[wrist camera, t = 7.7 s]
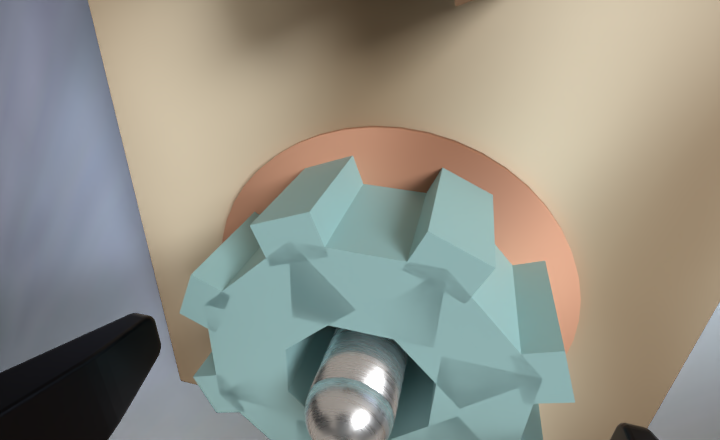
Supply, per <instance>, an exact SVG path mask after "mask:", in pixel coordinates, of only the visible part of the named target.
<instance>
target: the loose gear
mask: <svg viewBox="0 0 720 440" xmlns="http://www.w3.org/2000/svg"><path fill="white" fill-rule="evenodd" d="M180 314H182V315H184V316H185V317H187V318H189V319H191V320H193V321H195V322H196V323H198V324H200V325H202V326H204V327H206V328H208V331H209V336H210V342H211V348H212V352H211V353H210V355H209V356H208V357H207V359H206V360H205V361H204V363H203V364H202V365H201V367H200V368H199V369H198V371H197V372H196V373H195V375H194V376H193V378H194V379H195V381H196V382H197V384H198V385H199V387H200V389H201V390H202V392H203V393H204V395H205V396H206V398H207V399H208V401H209V402H210V404H211V405H212V407H213V408H214V410H215V411H216V413H228V412H240V413H241V414H242V415H243V416H244V417H245V418H246V419H248V420H249V421H250V422H251V423H252V424H253V425H254V426H255V427H257V428H258V429H259V430H260V431H261V432H262V433H263V434H264V435H266V436H267V437H268V438H269V439H270V440H312V439H311V437H310V435H309V432H308V430H307V427H306V421H305V403H306V399H307V396H308V392H309V390H310V388H311V385H312V383H313V381H314V378H315V376H316V374H317V372H318V369H319V367H320V365H321V362H322V360H323V358H324V355H325V353H326V351H327V348H328V346H329V344H330V341H331V339H332V337H333V334H334V332H335V330H336V327H338V328H343V329H347V330H352V331H357V332H361V333H366V334H371V335H375V336H380V337H385V338H389V339H394V340H395V341H396V342H397V343H398V344H399V345H400V346H401V348H402V349H403V350H404V351H405V352H406V353H407V354H408V359H407V364H406V368H405V373H404V378H403V383H402V388H401V393H400V398H399V402H398V407H397V412H396V417H395V422H394V426H393V429H392V432H391V435H390V436H389V438H388V440H543V434H542V427H541V419H540V411H539V404H542V403H575V399H574V394H573V389H572V384H571V379H570V374H569V369H568V364H567V359H566V354H565V349H564V344H563V340H562V335H561V331H560V326H559V322H558V317H557V312H556V308H555V303H554V299H553V294H552V290H551V285H550V280H549V276H548V271H547V267H546V262H545V261H539V262H532V263H525V264H518V265H512V264H511V263H510V262H509V261H508V259H507V258H506V257H505V256H504V255H503V253H502V252H501V251H500V250H499V248H498V247H497V246H496V245H495V236H494V211H493V195H492V194H490V193H488V192H487V191H485V190H483V189H481V188H479V187H477V186H476V185H474V184H472V183H470V182H468V181H466V180H465V179H463V178H461V177H459V176H457V175H455V174H454V173H452V172H450V171H448V170H446V169H445V168H443V167H442V169H441V171H440V172H439V174H438V175H437V177H436V179H435V180H434V182H433V183H432V185H431V186H430V188H429V190H428V191H427V193H423V192H416V191H409V190H402V189H395V188H388V187H382V186H375V185H368V184H363V182H362V179H361V176H360V174H359V171H358V168H357V165H356V163H355V160H354V157H353V156H349V157H345V158H342V159H338V160H334V161H330V162H327V163H323V164H319V165H315V166H312V167H308V168H305V169H304V170H303V171H302V172H301V173H300V174H299V175H298V176H297V177H296V178H295V179H294V180H293V181H292V182H291V183H290V184H289V185H288V186H287V187H286V188H285V189H284V190H283V192H282V193H281V194H280V195H279V196H278V197H277V198H276V199H275V200H274V201H273V202H272V203H271V204H270V205H269V206H268V207H267V208H266V209H265V210H264V211H263V212H262V213H261V214H260V215H259V214H257V213H256V212H254V213H253V214H252V215H251V216H250V217H249V218H248V219H247V220H246V221H245V222H244V223H243V224H242V225H241V226H240V227H239V228H238V229H237V230H236V231H235V232H234V233H233V234H232V235H231V236H230V237H229V238H228V239H227V240H225V241H224V242H223V243H222V244H221V245H220V246H219V247H218V248H217V249H216V250H215V251H214V252H213V253H212V254H211V255H210V256H209V257H208V258H207V259H206V260H205V261H204V262H203V263H202V264H201V265H200V266H199V267H198V268H197V269H196V270H195V271H194V272H193V273H192V274H191V276H190V280H189V283H188V286H187V290H186V293H185V296H184V299H183V303H182V306H181V309H180Z"/></svg>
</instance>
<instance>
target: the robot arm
mask: <svg viewBox="0 0 720 440" xmlns="http://www.w3.org/2000/svg"><path fill="white" fill-rule="evenodd" d="M160 349H161V342H160V339H159V335H158V331H157V327H156V323H155V320H154V319H153V318H152V317H151V316H148V315H144V314H139V313H132V314H129V315H127V316H125V317H122V318H120V319H118V320H116V321H114V322H111V323H109V324H107V325H105V326H103V327H100V328H98V329H96V330H94V331H92V332H89V333H87V334H85V335H83V336H81V337H78V338H76V339H74V340H72V341H70V342H67V343H65V344H63V345H61V346H58V347H56V348H54V349H52V350H50V351H47V352H45V353H43V354H41V355H39V356H36V357H34V358H32V359H30V360H28V361H25V362H23V363H21V364H19V365H17V366H14V367H12V368H10V369H8V370H5V371H3V372H1V373H0V440H108V439H109V437H110V436H111V434H112V433H113V431H114V430H115V428H116V427H117V426H118V424H119V423H120V421H121V419H122V418H123V416H124V414H125V413H126V411H127V409H128V408H129V406H130V404H131V403H132V401H133V399H134V397H135V396H136V394H137V392H138V390H139V389H140V387H141V385H142V384H143V382H144V380H145V378H146V377H147V375H148V373H149V371H150V370H151V368H152V366H153V364H154V363H155V361H156V359H157V358H158V356H159V353H160ZM610 440H658V439H657V437H656V436H655V435H654V434H653V433H652V432H651V431H650V430H649V429H647V428H645V427H642V426H637V425H633V424H629V423H620V424H618V426H617V427H616V429H615V431H614V433H613V435H612V436H611V438H610Z"/></svg>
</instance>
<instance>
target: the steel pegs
mask: <svg viewBox="0 0 720 440" xmlns="http://www.w3.org/2000/svg"><path fill="white" fill-rule="evenodd" d="M407 359H408V354H407V353H406V352H405V351H404V350H403V349H402V348H401V346H400V345H399V344H398V343H397V342H396V341H395V340H394V339H389V338H385V337H380V336H375V335H371V334H366V333H361V332H357V331H352V330H347V329H343V328H338V327H336V330H335V332H334V334H333V337H332V339H331V341H330V344H329V346H328V348H327V351H326V353H325V355H324V358H323V360H322V362H321V365H320V367H319V369H318V372H317V374H316V376H315V378H314V381H313V383H312V385H311V388H310V390H309V392H308V396H307V399H306V403H305V421H306V427H307V430H308V432H309V435H310V437H311V439H312V440H388V438H389V436H390V435H391V432H392V429H393V426H394V422H395V417H396V412H397V407H398V402H399V398H400V393H401V388H402V383H403V378H404V373H405V368H406V364H407Z"/></svg>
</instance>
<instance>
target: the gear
mask: <svg viewBox="0 0 720 440" xmlns="http://www.w3.org/2000/svg"><path fill="white" fill-rule="evenodd" d="M470 1H472V0H454V2H455V6H456V7H457V6H459V5H462V4H464V3H467V2H470Z"/></svg>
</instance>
